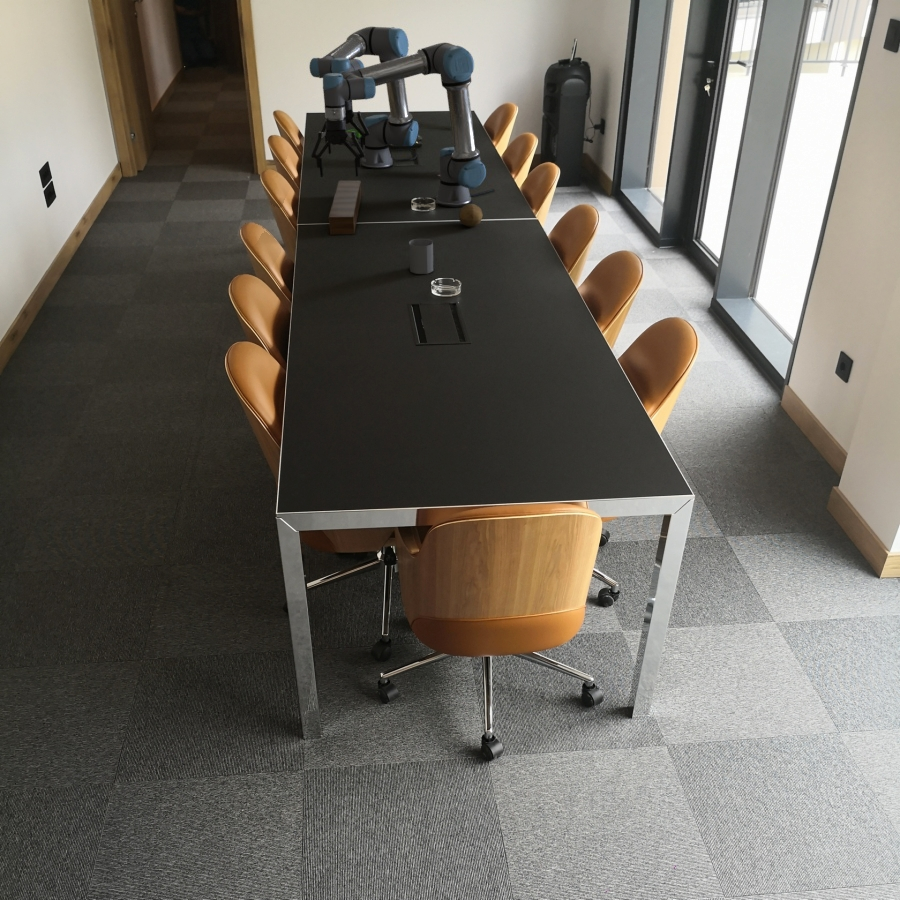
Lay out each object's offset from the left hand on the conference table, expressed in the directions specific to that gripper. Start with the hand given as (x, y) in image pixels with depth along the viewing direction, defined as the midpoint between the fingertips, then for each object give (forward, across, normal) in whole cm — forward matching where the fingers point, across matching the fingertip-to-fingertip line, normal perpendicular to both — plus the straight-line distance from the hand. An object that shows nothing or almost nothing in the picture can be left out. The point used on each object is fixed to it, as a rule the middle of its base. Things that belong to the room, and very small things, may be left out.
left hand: (346, 152), depth 366 cm
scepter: (+21, +4, +107) cm, 109 cm away
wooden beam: (+21, 0, -18) cm, 27 cm away
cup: (+20, +31, -83) cm, 91 cm away
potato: (+21, +51, -34) cm, 65 cm away
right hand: (0, 0, -36) cm, 36 cm away
